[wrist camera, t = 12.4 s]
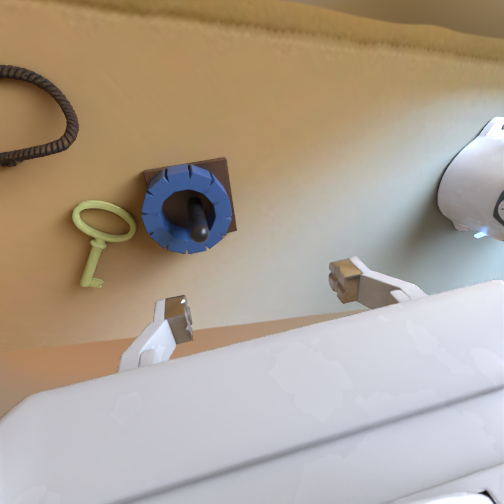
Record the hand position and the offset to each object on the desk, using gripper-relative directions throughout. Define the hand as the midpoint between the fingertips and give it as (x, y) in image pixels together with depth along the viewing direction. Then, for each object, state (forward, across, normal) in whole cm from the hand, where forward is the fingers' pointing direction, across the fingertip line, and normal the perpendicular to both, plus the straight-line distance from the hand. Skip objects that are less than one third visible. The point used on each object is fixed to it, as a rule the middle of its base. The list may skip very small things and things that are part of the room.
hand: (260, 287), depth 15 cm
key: (+24, +16, +6) cm, 30 cm away
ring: (+23, +4, +4) cm, 24 cm away
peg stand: (+25, +4, +4) cm, 25 cm away
